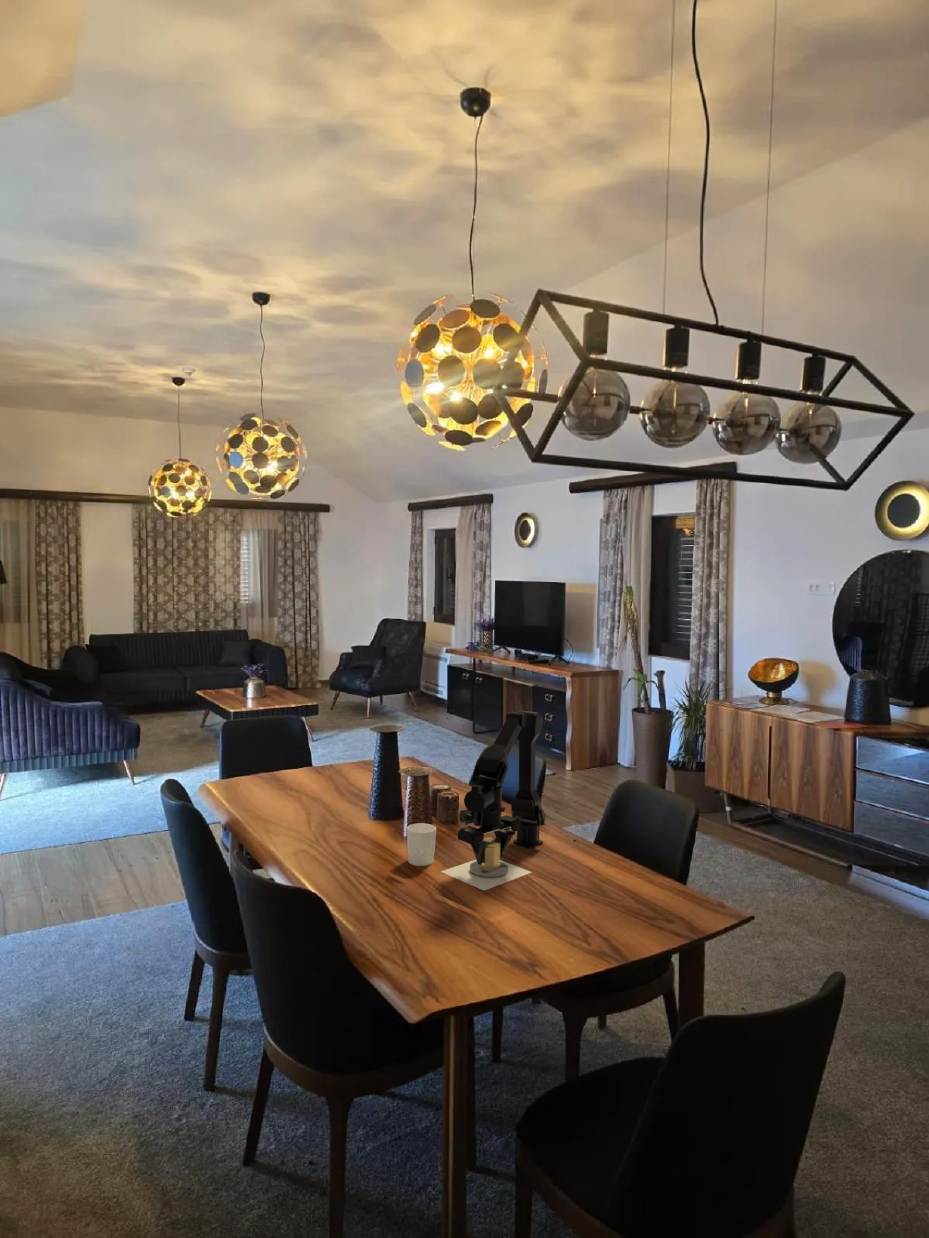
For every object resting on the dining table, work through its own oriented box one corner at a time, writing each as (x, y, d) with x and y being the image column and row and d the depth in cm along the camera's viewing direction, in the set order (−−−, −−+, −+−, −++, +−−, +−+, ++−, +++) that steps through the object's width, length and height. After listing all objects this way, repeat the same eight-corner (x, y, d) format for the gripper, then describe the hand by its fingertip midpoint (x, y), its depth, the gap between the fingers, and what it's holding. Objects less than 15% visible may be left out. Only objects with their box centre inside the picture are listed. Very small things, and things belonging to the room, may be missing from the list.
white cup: (417, 856, 218) (417, 821, 217) (440, 862, 214) (441, 826, 213) (400, 865, 211) (401, 828, 211) (424, 871, 207) (425, 834, 207)
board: (488, 858, 218) (488, 855, 218) (531, 875, 206) (531, 872, 206) (440, 874, 205) (440, 871, 205) (483, 893, 194) (484, 890, 194)
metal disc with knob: (488, 861, 214) (489, 838, 213) (515, 871, 206) (516, 848, 206) (462, 870, 207) (462, 847, 206) (489, 881, 200) (490, 857, 199)
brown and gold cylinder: (488, 860, 211) (489, 835, 210) (504, 866, 207) (505, 841, 206) (473, 865, 207) (474, 840, 206) (489, 872, 202) (489, 846, 202)
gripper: (493, 790, 218) (491, 845, 219) (443, 802, 205) (442, 861, 206) (523, 799, 210) (521, 856, 211) (473, 812, 197) (472, 873, 198)
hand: (489, 861), depth 206 cm, fingers open, 7 cm apart
